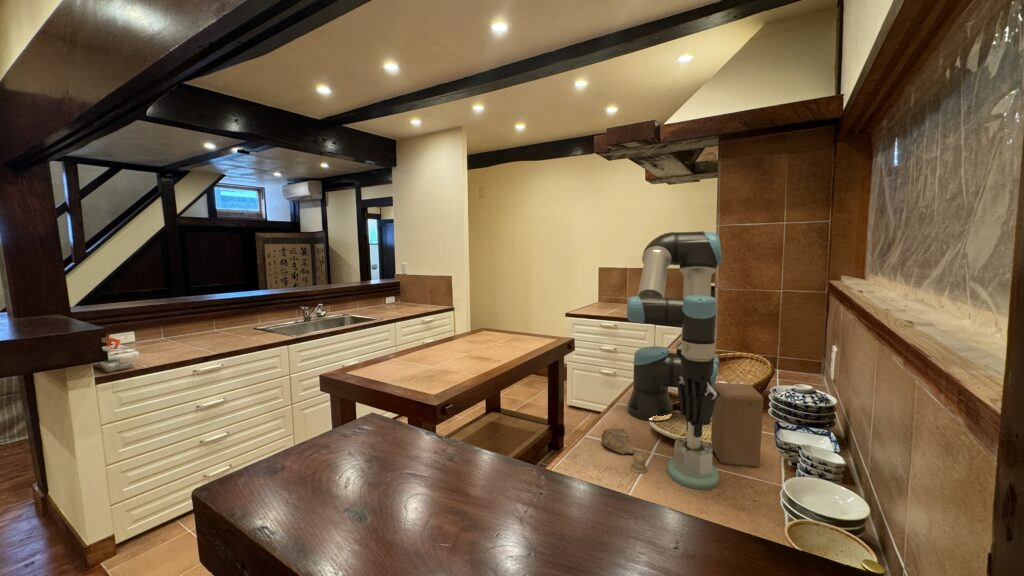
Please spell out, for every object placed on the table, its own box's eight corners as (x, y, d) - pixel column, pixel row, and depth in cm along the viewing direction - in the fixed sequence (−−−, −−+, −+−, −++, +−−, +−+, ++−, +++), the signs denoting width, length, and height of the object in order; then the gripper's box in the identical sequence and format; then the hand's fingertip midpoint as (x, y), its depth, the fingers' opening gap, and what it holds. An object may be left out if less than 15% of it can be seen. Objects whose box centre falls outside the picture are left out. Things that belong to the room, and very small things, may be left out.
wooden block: (760, 468, 105) (765, 396, 103) (720, 465, 107) (723, 394, 105) (746, 449, 115) (750, 383, 113) (709, 446, 117) (712, 381, 115)
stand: (631, 462, 109) (632, 449, 108) (648, 466, 107) (648, 452, 107) (629, 471, 105) (630, 457, 104) (647, 475, 103) (647, 460, 103)
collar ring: (667, 462, 105) (667, 440, 105) (694, 456, 108) (695, 435, 107) (690, 480, 97) (691, 457, 96) (719, 474, 99) (720, 451, 99)
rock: (596, 441, 121) (608, 452, 111) (600, 422, 122) (612, 431, 112) (622, 446, 122) (637, 457, 112) (626, 427, 123) (640, 436, 113)
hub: (668, 459, 110) (668, 438, 110) (716, 468, 106) (717, 446, 105) (666, 483, 100) (667, 460, 99) (720, 494, 95) (721, 470, 94)
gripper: (667, 352, 104) (664, 437, 107) (704, 366, 92) (700, 462, 94) (690, 349, 106) (687, 433, 109) (730, 363, 94) (725, 457, 97)
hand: (693, 446), depth 102 cm, fingers closed
